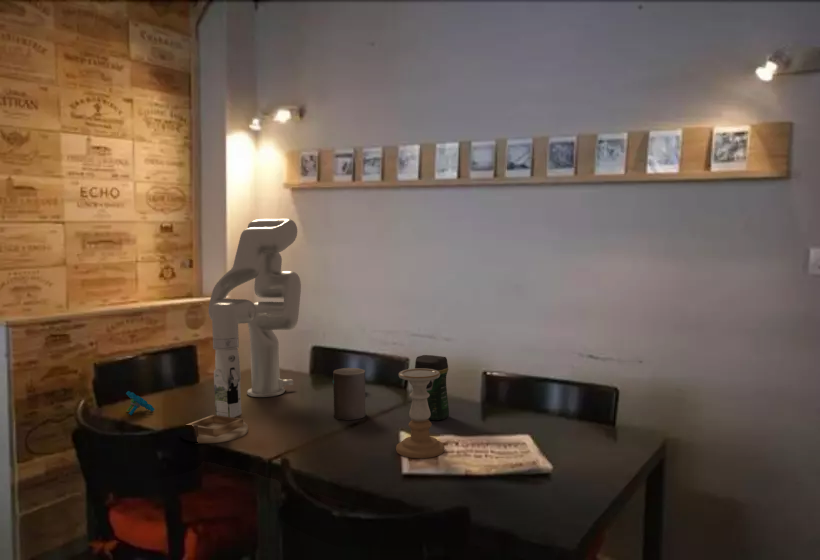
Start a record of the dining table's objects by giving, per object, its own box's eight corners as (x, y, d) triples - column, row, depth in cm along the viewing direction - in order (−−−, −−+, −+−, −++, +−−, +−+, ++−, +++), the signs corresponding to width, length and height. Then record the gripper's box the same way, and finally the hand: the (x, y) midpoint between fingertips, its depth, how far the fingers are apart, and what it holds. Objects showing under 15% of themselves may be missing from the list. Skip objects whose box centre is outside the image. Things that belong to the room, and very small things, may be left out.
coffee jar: (452, 416, 206) (452, 354, 205) (440, 422, 199) (439, 359, 198) (424, 411, 211) (423, 351, 210) (411, 418, 204) (410, 356, 203)
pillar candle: (328, 418, 205) (326, 369, 204) (343, 410, 214) (342, 362, 213) (357, 421, 202) (356, 371, 201) (371, 413, 211) (370, 364, 210)
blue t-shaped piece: (160, 408, 213) (134, 389, 209) (147, 425, 210) (121, 406, 206) (148, 406, 221) (124, 388, 217) (136, 422, 219) (111, 403, 215)
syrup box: (242, 414, 211) (240, 367, 210) (229, 419, 206) (227, 371, 205) (227, 412, 214) (225, 366, 213) (214, 417, 208) (212, 370, 207)
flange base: (212, 421, 205) (212, 407, 204) (261, 428, 196) (260, 413, 196) (166, 438, 188) (165, 423, 188) (217, 446, 180) (216, 431, 180)
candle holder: (397, 443, 181) (396, 367, 180) (444, 442, 181) (443, 367, 179) (394, 459, 169) (393, 378, 168) (445, 458, 169) (444, 377, 167)
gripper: (248, 346, 203) (250, 404, 204) (228, 338, 217) (230, 393, 219) (223, 348, 199) (225, 408, 200) (204, 340, 213) (206, 396, 215)
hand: (227, 400), depth 209 cm, fingers open, 8 cm apart
